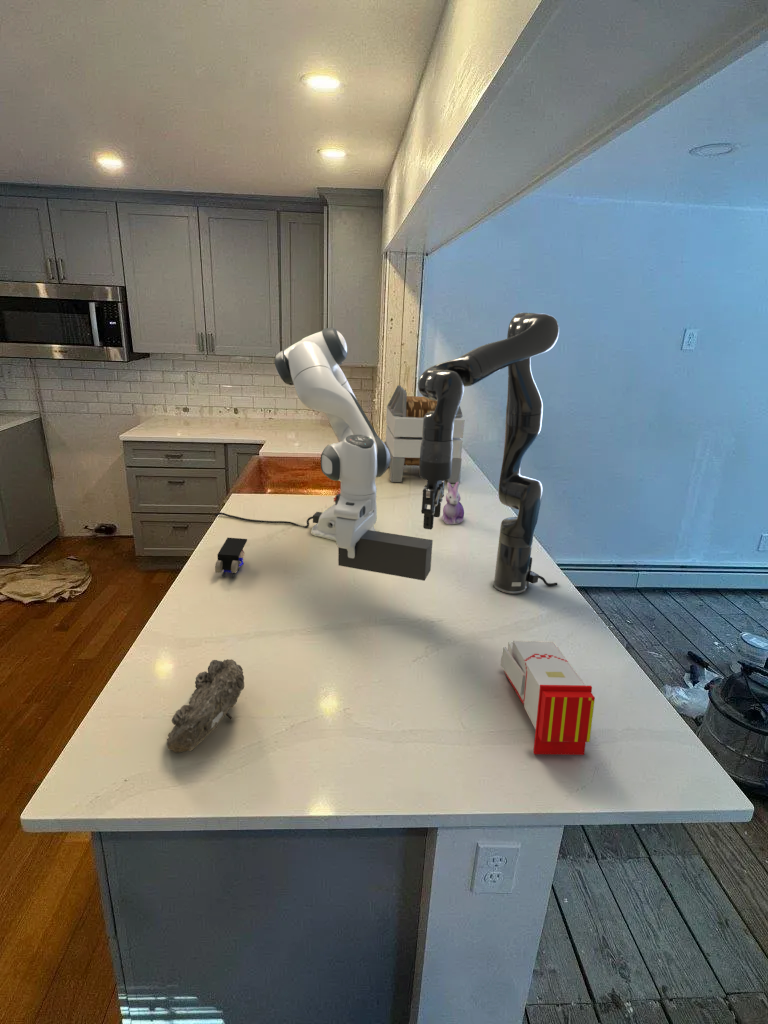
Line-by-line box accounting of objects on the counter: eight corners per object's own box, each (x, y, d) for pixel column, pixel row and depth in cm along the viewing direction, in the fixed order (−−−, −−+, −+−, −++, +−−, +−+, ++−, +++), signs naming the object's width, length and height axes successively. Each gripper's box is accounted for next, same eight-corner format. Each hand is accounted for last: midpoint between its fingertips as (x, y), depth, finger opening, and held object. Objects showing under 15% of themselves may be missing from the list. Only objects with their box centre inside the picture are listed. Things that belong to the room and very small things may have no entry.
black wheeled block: (238, 584, 162) (249, 557, 175) (236, 562, 158) (247, 536, 172) (215, 584, 161) (227, 556, 175) (212, 561, 158) (225, 535, 171)
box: (338, 565, 146) (338, 534, 143) (346, 556, 152) (347, 526, 149) (424, 580, 140) (426, 548, 137) (430, 570, 145) (432, 539, 142)
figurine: (449, 526, 208) (453, 487, 203) (434, 517, 216) (437, 480, 211) (470, 523, 212) (474, 485, 207) (455, 514, 221) (458, 477, 216)
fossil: (192, 660, 117) (244, 628, 112) (224, 691, 120) (276, 661, 115) (142, 746, 98) (202, 712, 93) (182, 779, 101) (242, 748, 96)
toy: (549, 624, 127) (604, 693, 98) (544, 678, 130) (596, 762, 100) (496, 622, 127) (535, 692, 97) (491, 677, 129) (528, 761, 100)
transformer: (382, 463, 289) (386, 382, 275) (445, 464, 293) (451, 384, 279) (390, 482, 257) (394, 392, 243) (460, 483, 261) (468, 394, 247)
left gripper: (361, 487, 152) (359, 535, 157) (330, 511, 134) (330, 565, 138) (383, 491, 150) (381, 539, 155) (355, 515, 132) (354, 569, 137)
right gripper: (446, 467, 124) (441, 535, 130) (457, 451, 137) (452, 514, 142) (413, 463, 126) (409, 530, 131) (426, 448, 139) (423, 510, 144)
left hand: (357, 551), depth 147 cm, fingers closed on box, 6 cm apart
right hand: (431, 522), depth 137 cm, fingers open, 8 cm apart
